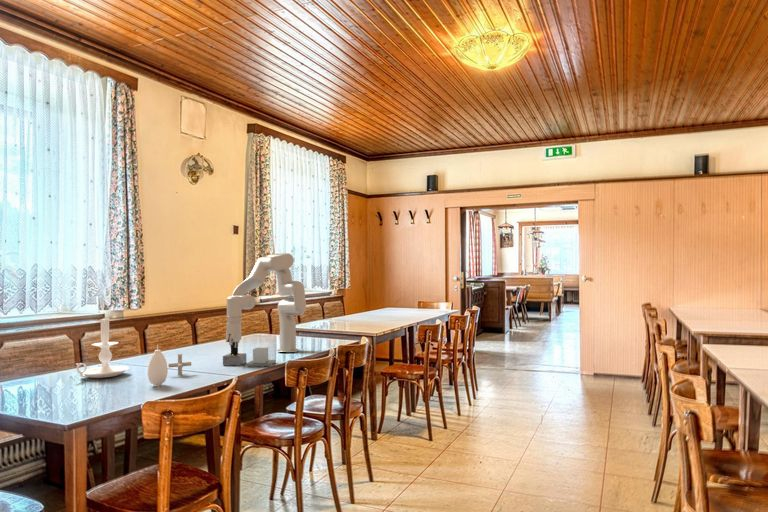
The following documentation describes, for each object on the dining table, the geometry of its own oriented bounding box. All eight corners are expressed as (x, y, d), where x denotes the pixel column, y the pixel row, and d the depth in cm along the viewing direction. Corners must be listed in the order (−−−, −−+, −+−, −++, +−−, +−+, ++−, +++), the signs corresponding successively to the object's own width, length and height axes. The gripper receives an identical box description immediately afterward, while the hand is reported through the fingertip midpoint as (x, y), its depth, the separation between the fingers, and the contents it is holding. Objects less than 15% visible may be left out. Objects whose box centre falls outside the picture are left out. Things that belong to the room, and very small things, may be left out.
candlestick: (61, 381, 237) (61, 319, 238) (110, 371, 260) (109, 314, 260) (91, 384, 228) (90, 320, 229) (139, 374, 251) (138, 315, 251)
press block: (230, 362, 277) (230, 353, 277) (246, 362, 276) (246, 353, 276) (222, 365, 268) (222, 356, 268) (239, 366, 267) (239, 356, 267)
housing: (257, 360, 273) (257, 347, 273) (268, 360, 272) (268, 347, 272) (253, 362, 267) (252, 349, 267) (264, 363, 266) (264, 349, 266)
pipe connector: (168, 374, 248) (168, 353, 248) (190, 372, 252) (190, 351, 252) (169, 378, 239) (168, 356, 239) (192, 376, 243) (192, 354, 243)
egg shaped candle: (146, 388, 218) (146, 345, 219) (149, 384, 226) (149, 343, 226) (166, 387, 220) (166, 344, 221) (168, 383, 228) (168, 342, 228)
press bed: (254, 362, 276) (254, 359, 276) (275, 362, 274) (275, 360, 274) (245, 367, 264) (245, 364, 264) (267, 367, 263) (267, 364, 263)
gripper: (233, 318, 281) (233, 352, 280) (221, 321, 266) (221, 357, 265) (246, 318, 280) (246, 352, 279) (235, 321, 265) (235, 357, 264)
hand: (234, 355), depth 272 cm, fingers closed
